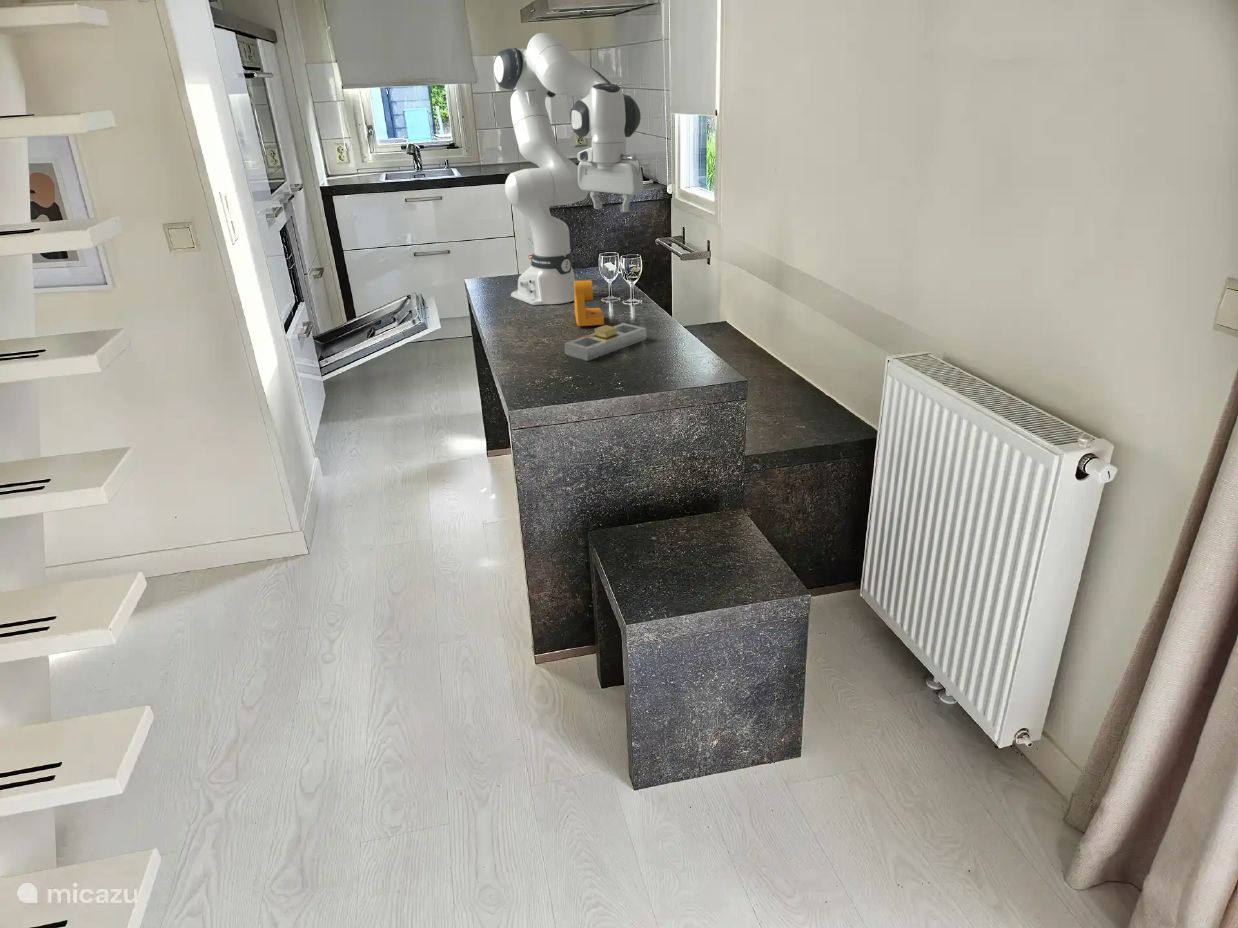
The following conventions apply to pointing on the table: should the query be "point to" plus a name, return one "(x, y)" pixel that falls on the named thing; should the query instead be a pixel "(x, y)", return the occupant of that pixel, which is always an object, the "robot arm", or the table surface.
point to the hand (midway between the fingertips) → (611, 210)
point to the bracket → (584, 316)
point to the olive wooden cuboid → (605, 332)
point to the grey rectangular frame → (604, 342)
